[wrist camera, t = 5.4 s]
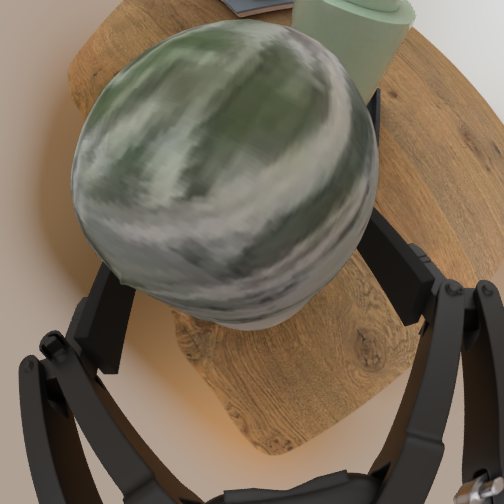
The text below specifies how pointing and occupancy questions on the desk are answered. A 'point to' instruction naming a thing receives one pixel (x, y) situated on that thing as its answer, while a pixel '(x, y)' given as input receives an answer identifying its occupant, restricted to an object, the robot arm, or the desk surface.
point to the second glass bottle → (357, 34)
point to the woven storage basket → (256, 6)
